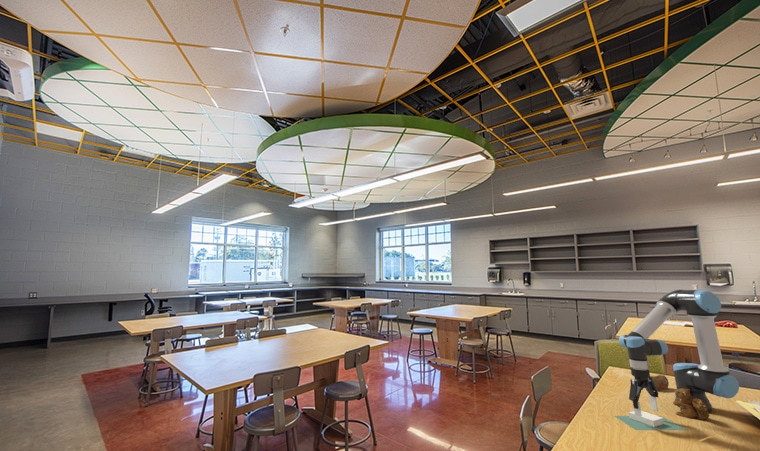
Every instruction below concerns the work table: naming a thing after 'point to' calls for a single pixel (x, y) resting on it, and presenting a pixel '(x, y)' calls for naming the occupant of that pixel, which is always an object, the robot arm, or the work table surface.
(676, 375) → the robot arm
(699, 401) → the stuffed squirrel
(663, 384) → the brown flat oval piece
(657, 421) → the card box
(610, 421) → the work table surface
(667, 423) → the mat
